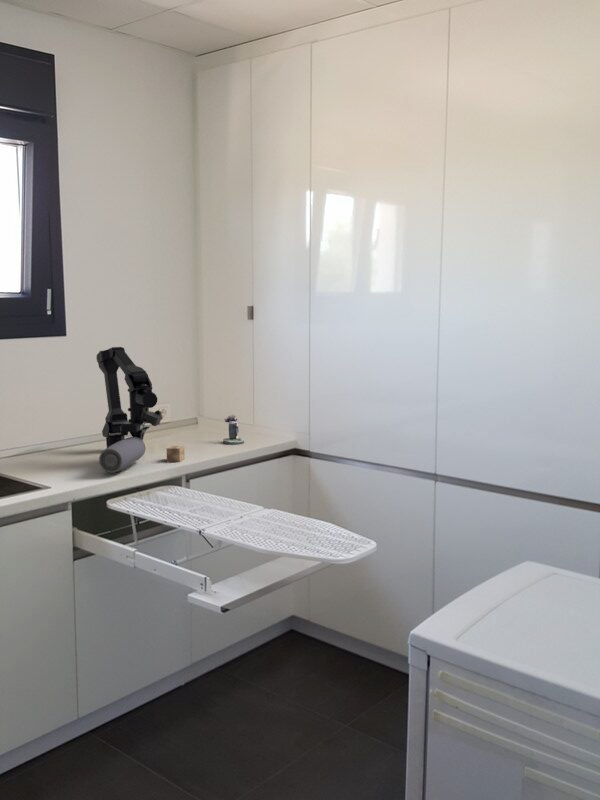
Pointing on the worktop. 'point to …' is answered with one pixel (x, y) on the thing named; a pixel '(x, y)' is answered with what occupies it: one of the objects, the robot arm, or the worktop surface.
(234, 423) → the figurine
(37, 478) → the worktop surface
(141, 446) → the bluetooth speaker
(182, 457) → the letter block
